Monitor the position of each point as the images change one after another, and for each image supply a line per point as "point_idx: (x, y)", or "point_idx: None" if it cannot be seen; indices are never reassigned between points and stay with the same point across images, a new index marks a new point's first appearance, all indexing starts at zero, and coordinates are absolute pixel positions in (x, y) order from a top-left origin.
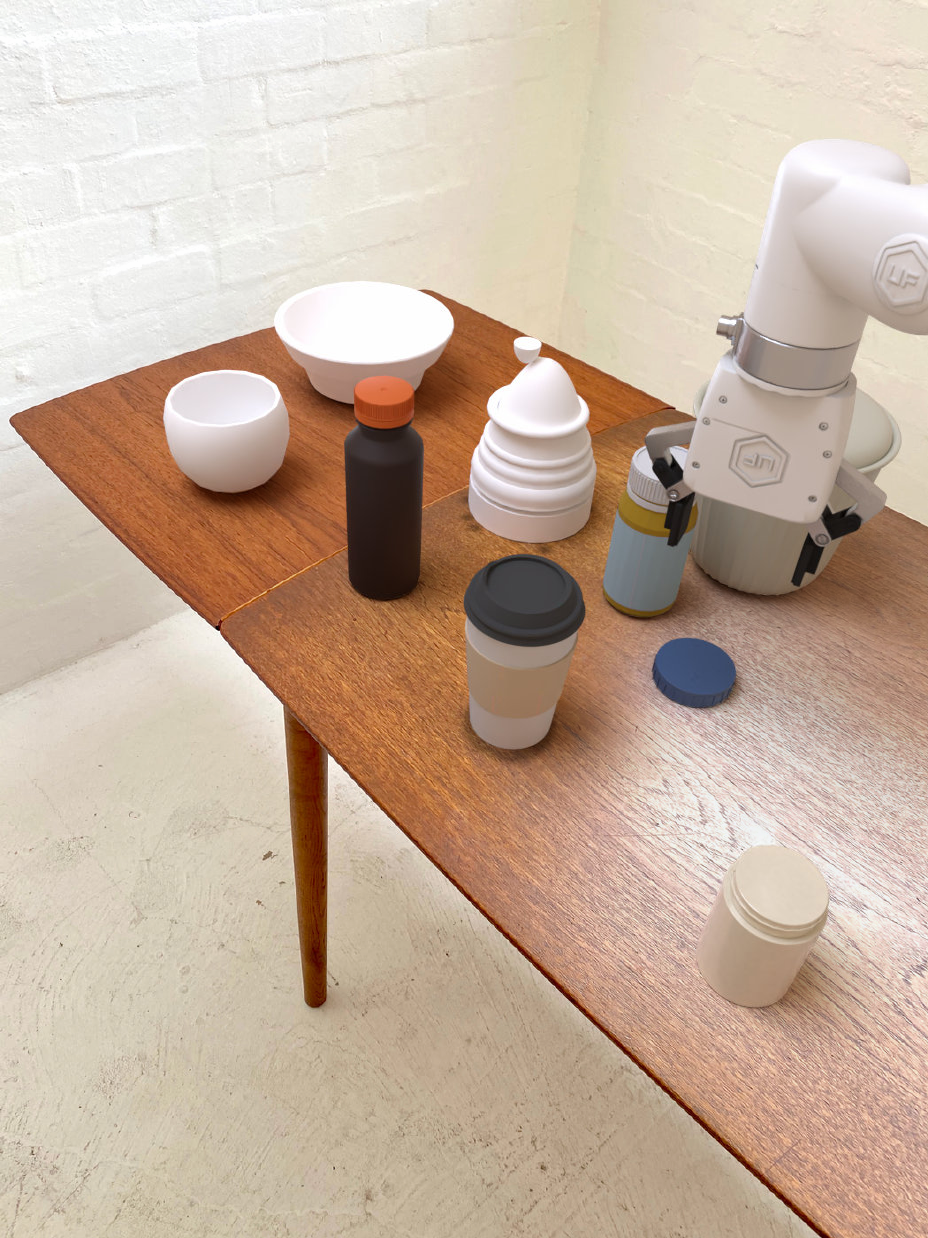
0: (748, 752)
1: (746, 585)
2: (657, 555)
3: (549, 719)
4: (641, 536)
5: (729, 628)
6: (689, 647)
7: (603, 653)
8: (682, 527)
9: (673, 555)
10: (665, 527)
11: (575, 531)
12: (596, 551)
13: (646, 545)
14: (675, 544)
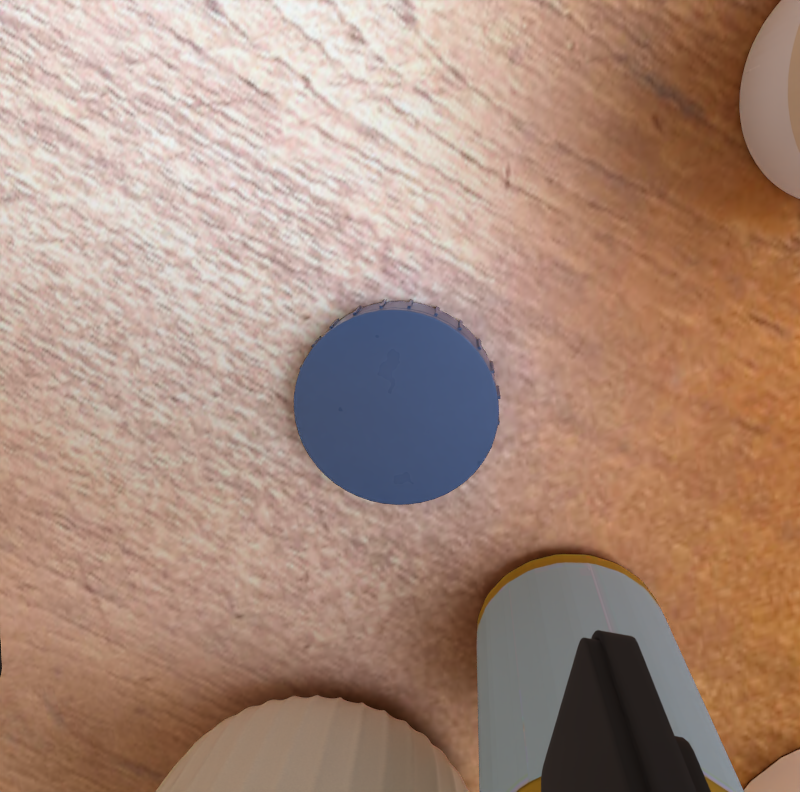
0: (232, 202)
1: (320, 707)
2: None
3: (778, 31)
4: None
5: (341, 583)
6: (420, 467)
7: (626, 410)
8: (587, 749)
9: (526, 712)
10: (676, 736)
11: (750, 789)
12: None
13: None
14: (592, 641)
